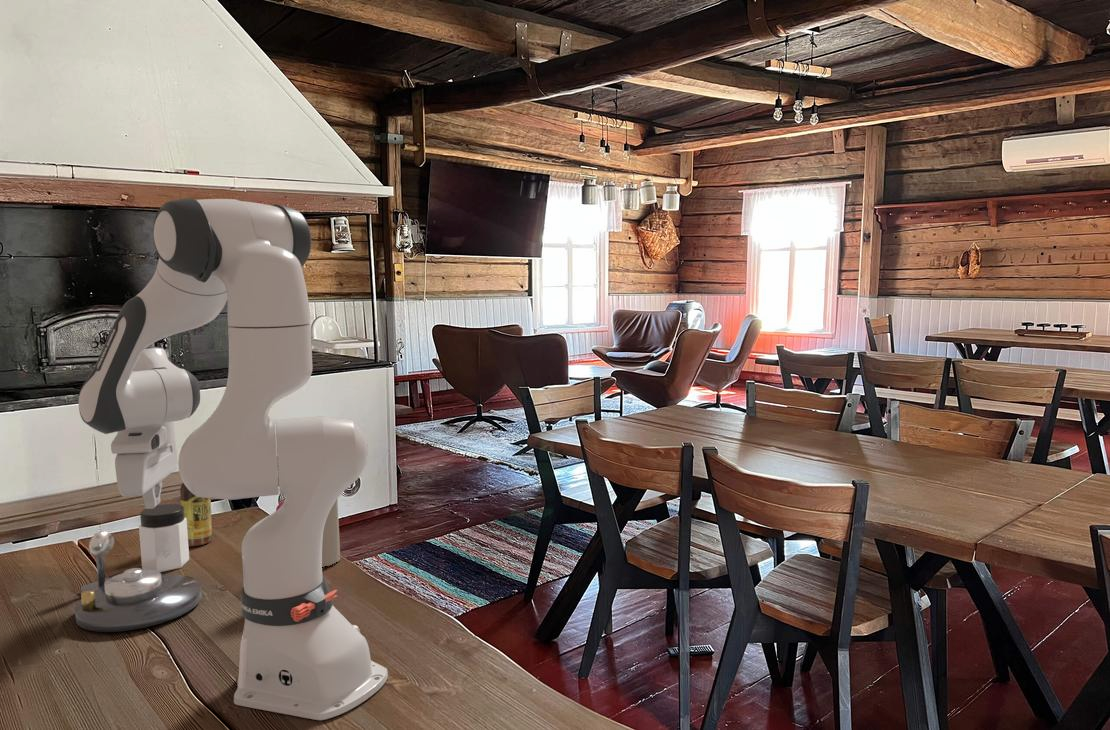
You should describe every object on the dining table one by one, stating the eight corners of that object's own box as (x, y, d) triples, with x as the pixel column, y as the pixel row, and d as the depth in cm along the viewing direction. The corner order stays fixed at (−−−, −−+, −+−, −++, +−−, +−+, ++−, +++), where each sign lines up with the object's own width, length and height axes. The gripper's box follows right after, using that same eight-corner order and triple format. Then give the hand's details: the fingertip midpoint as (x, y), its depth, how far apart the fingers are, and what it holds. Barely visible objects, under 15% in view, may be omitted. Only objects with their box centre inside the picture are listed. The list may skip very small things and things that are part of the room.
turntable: (183, 575, 152) (181, 551, 151) (216, 607, 137) (214, 580, 136) (65, 605, 139) (63, 578, 138) (88, 643, 124) (86, 614, 123)
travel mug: (314, 572, 155) (310, 486, 152) (293, 563, 160) (289, 479, 158) (347, 560, 161) (344, 477, 158) (326, 552, 166) (322, 471, 164)
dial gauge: (130, 590, 147) (126, 531, 145) (104, 599, 142) (100, 539, 141) (107, 583, 150) (102, 525, 149) (81, 592, 146) (76, 533, 144)
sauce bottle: (197, 549, 169) (191, 461, 166) (175, 546, 171) (169, 459, 168) (219, 539, 175) (214, 454, 173) (198, 536, 177) (192, 453, 175)
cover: (171, 592, 139) (169, 568, 138) (119, 609, 132) (117, 585, 131) (147, 581, 144) (145, 558, 144) (96, 597, 137) (94, 573, 137)
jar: (145, 576, 153) (140, 518, 152) (139, 564, 160) (135, 508, 159) (193, 566, 159) (189, 510, 157) (185, 554, 165) (182, 501, 164)
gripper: (149, 423, 150) (154, 491, 152) (106, 446, 130) (112, 524, 132) (183, 422, 151) (188, 490, 153) (145, 445, 131) (151, 522, 133)
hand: (152, 506), depth 142 cm, fingers closed
